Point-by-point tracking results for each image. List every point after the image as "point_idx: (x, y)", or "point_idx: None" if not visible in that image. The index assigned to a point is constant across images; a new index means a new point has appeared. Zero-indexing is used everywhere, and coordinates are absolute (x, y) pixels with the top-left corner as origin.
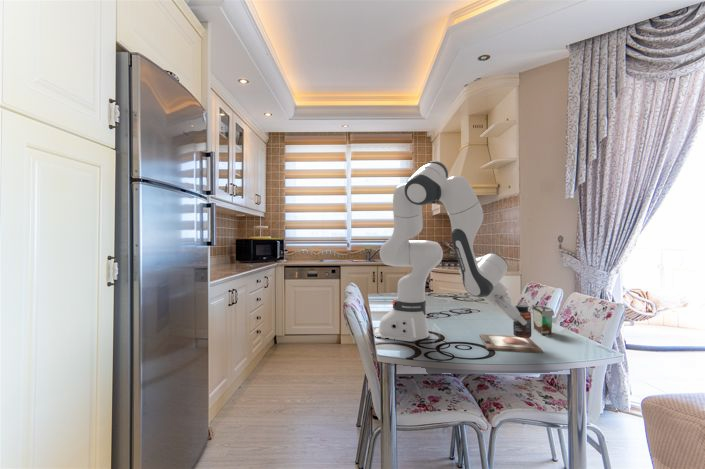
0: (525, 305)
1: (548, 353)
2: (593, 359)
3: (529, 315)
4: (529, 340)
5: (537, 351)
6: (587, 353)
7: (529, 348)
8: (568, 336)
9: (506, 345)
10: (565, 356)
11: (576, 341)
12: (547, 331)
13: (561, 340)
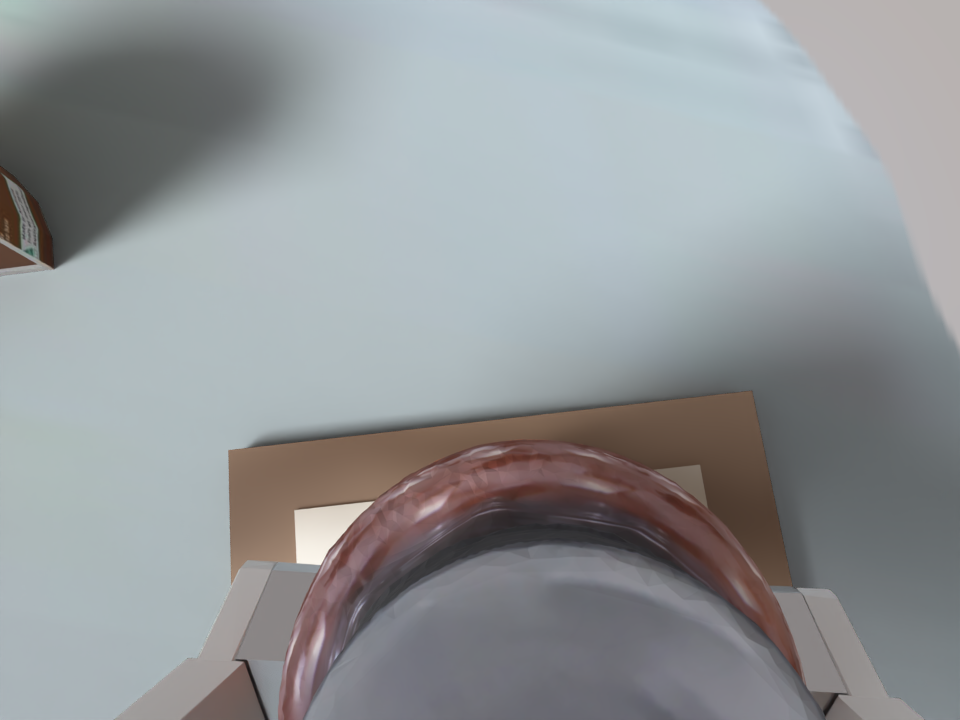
0: (470, 641)
1: (733, 344)
2: (758, 12)
3: (703, 508)
4: (391, 464)
5: (760, 450)
6: (596, 11)
7: (729, 527)
8: (61, 27)
9: None
10: (768, 210)
11: (228, 2)
12: (12, 189)
13: (223, 121)
